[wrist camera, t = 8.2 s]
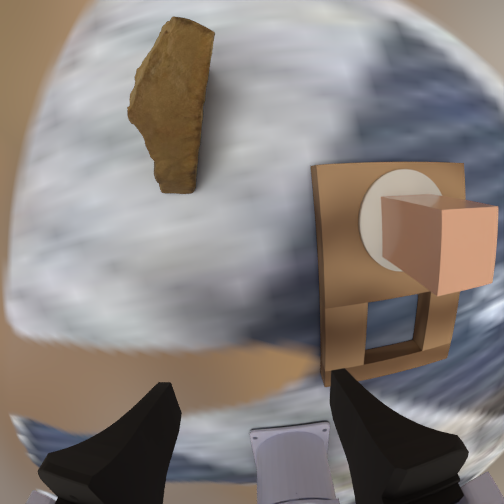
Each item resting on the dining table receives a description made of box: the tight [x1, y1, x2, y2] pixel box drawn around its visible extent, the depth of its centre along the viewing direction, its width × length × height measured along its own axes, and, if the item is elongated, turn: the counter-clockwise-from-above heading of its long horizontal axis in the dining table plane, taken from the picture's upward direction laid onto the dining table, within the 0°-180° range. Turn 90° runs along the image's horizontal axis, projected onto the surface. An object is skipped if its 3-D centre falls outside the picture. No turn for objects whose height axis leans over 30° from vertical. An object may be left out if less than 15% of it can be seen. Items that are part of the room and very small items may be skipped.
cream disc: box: [358, 169, 442, 272], centre depth 18 cm, size 7×7×1 cm
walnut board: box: [311, 162, 465, 387], centre depth 20 cm, size 17×12×2 cm
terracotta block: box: [381, 194, 498, 296], centre depth 14 cm, size 4×4×7 cm
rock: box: [127, 17, 215, 194], centre depth 16 cm, size 11×9×10 cm
